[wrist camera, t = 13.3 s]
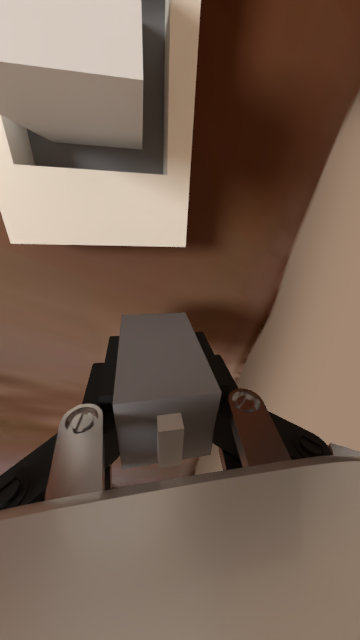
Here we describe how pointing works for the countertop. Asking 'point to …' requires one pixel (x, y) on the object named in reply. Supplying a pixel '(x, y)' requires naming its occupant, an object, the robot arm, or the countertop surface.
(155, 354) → the cable plug
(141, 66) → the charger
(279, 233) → the countertop surface
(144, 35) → the power strip
